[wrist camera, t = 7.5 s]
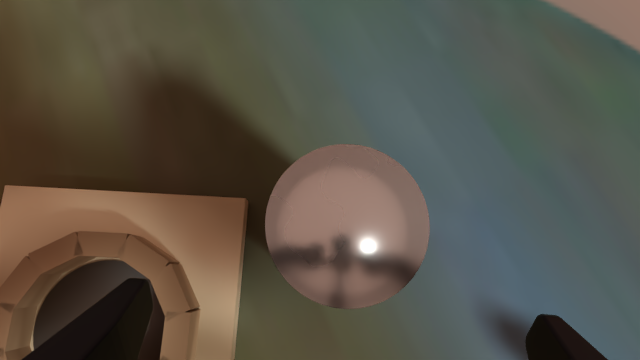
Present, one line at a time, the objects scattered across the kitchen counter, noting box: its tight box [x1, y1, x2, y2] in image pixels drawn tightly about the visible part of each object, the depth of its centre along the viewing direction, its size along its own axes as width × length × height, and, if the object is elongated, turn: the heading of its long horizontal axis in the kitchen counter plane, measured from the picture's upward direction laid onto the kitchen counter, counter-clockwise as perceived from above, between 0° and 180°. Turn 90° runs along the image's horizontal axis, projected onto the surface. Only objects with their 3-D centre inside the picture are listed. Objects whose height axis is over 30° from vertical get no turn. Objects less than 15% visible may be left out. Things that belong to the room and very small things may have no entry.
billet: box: [265, 144, 430, 309], centre depth 15 cm, size 4×4×10 cm
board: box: [0, 185, 248, 360], centre depth 18 cm, size 12×11×2 cm
